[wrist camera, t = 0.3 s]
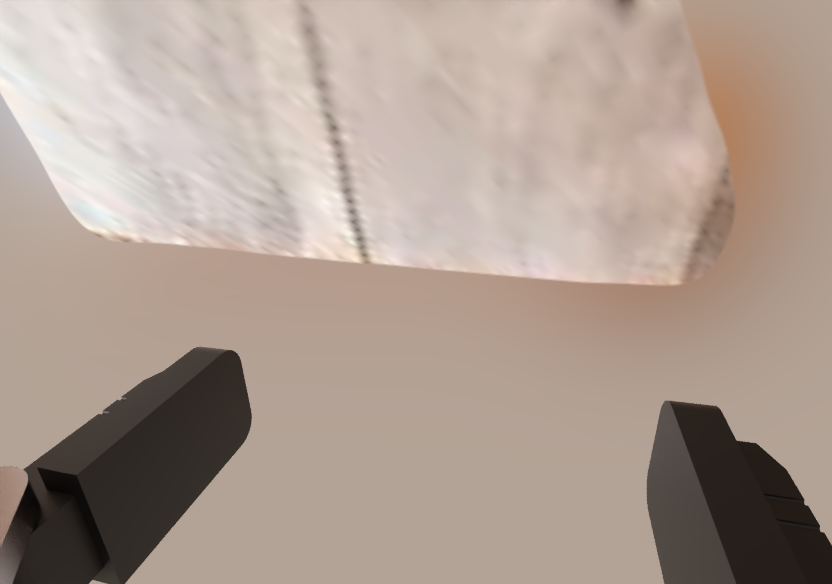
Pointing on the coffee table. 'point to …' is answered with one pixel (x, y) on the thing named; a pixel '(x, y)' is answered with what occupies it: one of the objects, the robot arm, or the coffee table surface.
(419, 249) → the coffee table surface
